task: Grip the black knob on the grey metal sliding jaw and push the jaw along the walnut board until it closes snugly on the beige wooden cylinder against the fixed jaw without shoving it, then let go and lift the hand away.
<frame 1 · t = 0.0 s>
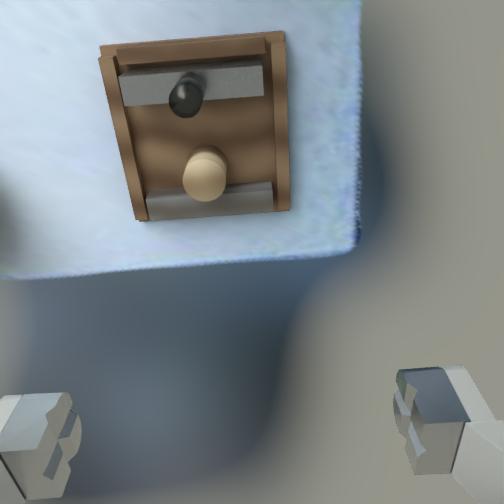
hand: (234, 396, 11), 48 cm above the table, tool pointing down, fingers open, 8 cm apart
beige wooden cylinder: (207, 163, 57), point 1 cm above the table, touching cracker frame
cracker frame: (204, 134, 56), on the table
sliding jaw: (191, 88, 46), point 7 cm above the table, slide at 0.0 cm
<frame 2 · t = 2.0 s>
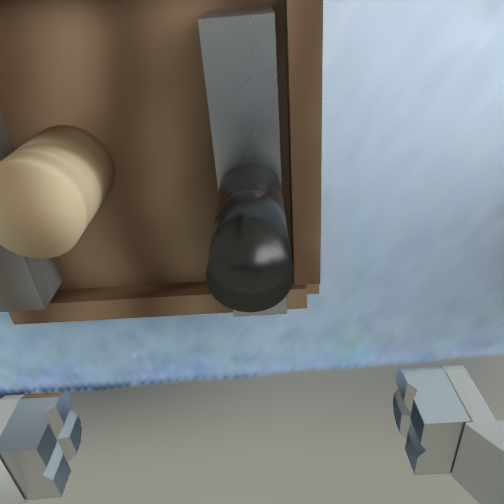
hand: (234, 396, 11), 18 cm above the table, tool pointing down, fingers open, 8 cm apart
beige wooden cylinder: (72, 167, 26), point 1 cm above the table, touching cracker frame
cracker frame: (134, 157, 27), on the table
sliding jaw: (250, 202, 20), point 7 cm above the table, slide at 0.0 cm
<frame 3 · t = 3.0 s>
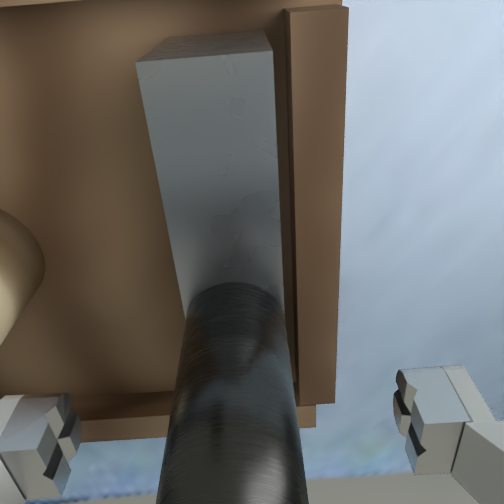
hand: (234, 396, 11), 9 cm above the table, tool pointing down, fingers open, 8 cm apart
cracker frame: (74, 237, 19), on the table
sliding jaw: (235, 345, 13), point 7 cm above the table, slide at 0.0 cm
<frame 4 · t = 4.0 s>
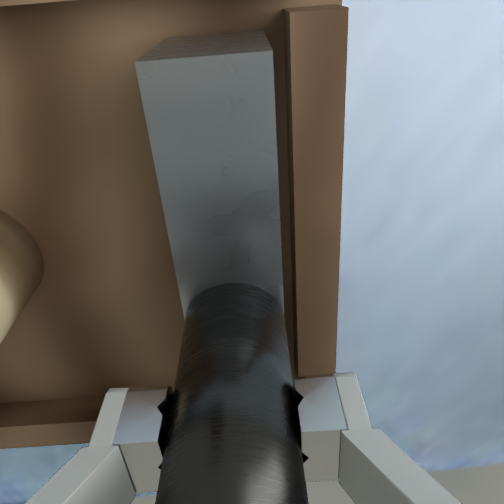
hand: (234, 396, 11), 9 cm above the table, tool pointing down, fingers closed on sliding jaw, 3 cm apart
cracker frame: (73, 237, 19), on the table
sliding jaw: (234, 346, 13), point 7 cm above the table, slide at 0.0 cm, touching gripper
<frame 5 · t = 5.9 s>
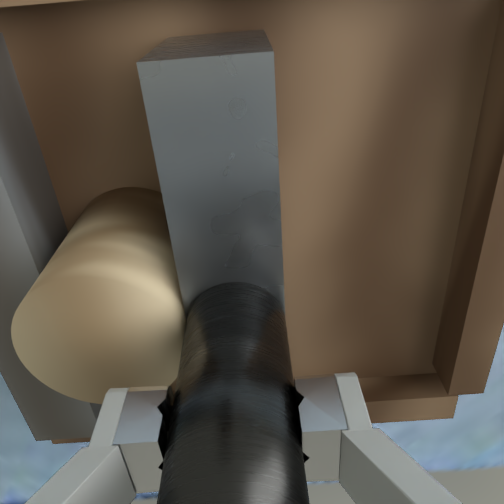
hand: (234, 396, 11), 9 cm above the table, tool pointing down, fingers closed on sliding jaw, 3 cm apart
beige wooden cylinder: (140, 243, 18), point 1 cm above the table, touching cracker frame, sliding jaw
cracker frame: (232, 225, 19), on the table
sliding jaw: (235, 345, 13), point 7 cm above the table, slide at 6.8 cm, touching gripper, beige wooden cylinder
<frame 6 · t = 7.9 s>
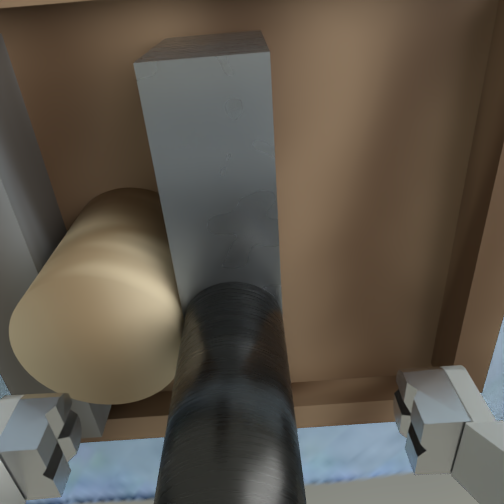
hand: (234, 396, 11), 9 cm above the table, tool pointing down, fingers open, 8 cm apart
beige wooden cylinder: (137, 244, 18), point 1 cm above the table, touching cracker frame
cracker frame: (231, 225, 19), on the table
sliding jaw: (233, 344, 13), point 7 cm above the table, slide at 6.8 cm
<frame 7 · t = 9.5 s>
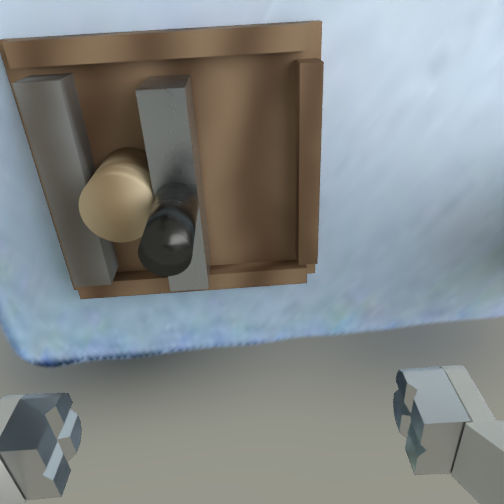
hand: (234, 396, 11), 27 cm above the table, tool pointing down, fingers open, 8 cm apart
beige wooden cylinder: (132, 177, 35), point 1 cm above the table, touching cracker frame
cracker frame: (181, 170, 36), on the table
sliding jaw: (175, 208, 30), point 7 cm above the table, slide at 6.8 cm
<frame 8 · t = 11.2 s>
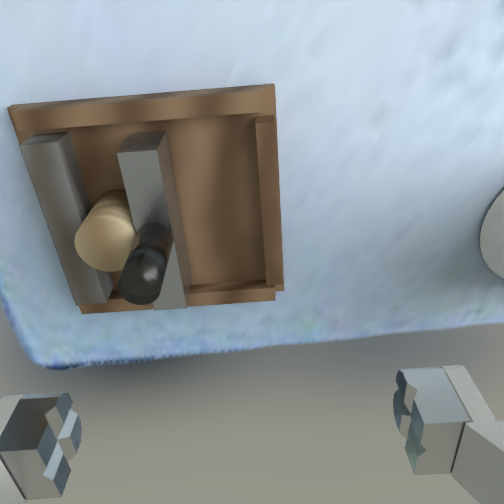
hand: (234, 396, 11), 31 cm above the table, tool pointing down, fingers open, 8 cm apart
beige wooden cylinder: (122, 213, 42), point 1 cm above the table, touching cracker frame, sliding jaw
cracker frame: (164, 206, 43), on the table
sliding jaw: (153, 244, 36), point 7 cm above the table, slide at 6.8 cm, touching beige wooden cylinder
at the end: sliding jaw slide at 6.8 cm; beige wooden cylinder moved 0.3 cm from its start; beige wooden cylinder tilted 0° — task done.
